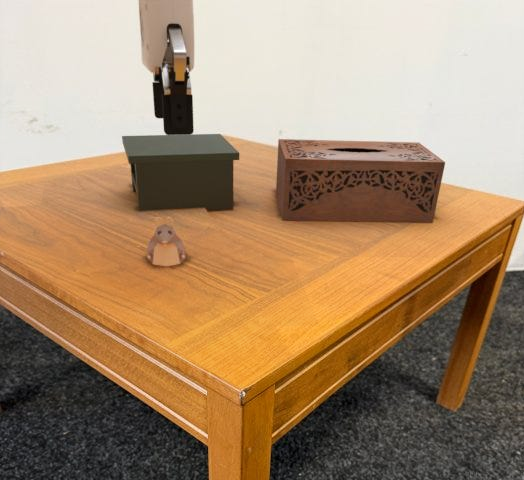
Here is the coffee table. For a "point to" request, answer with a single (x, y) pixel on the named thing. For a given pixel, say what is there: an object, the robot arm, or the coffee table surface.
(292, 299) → the coffee table surface
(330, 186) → the tissue box cover
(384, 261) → the coffee table surface
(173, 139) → the dark green lidded box
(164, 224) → the mouse figurine
